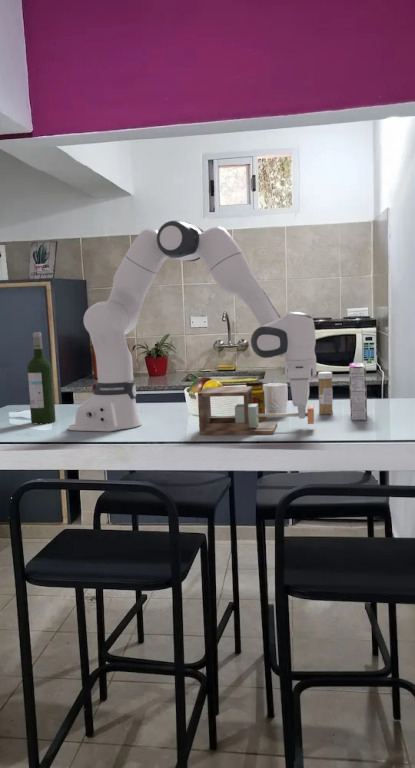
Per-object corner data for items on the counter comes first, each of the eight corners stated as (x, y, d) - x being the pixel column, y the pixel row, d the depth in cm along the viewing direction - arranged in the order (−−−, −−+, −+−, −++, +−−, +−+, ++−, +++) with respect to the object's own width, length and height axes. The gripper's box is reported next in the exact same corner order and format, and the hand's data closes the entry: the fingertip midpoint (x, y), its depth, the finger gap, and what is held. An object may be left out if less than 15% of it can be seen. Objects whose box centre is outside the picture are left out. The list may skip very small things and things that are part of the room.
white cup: (261, 416, 224) (260, 386, 223) (266, 412, 232) (265, 383, 231) (285, 417, 222) (284, 385, 221) (290, 412, 229) (289, 382, 228)
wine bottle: (58, 419, 237) (52, 331, 233) (51, 424, 229) (44, 332, 225) (36, 420, 238) (29, 332, 234) (28, 424, 230) (20, 333, 226)
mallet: (235, 427, 200) (234, 407, 199) (238, 424, 206) (237, 404, 205) (313, 427, 196) (312, 405, 195) (314, 423, 202) (313, 402, 201)
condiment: (249, 422, 216) (247, 383, 215) (239, 418, 224) (238, 381, 223) (271, 420, 218) (269, 381, 217) (261, 416, 226) (259, 379, 225)
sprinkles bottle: (317, 412, 227) (316, 371, 225) (331, 412, 227) (330, 371, 226) (321, 415, 222) (319, 373, 221) (335, 414, 223) (333, 372, 221)
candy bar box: (350, 414, 221) (349, 363, 219) (366, 414, 220) (365, 362, 218) (350, 420, 210) (349, 366, 208) (367, 420, 209) (366, 366, 207)
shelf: (199, 434, 199) (197, 393, 197) (207, 426, 211) (205, 387, 210) (273, 434, 195) (271, 391, 194) (277, 425, 207) (275, 385, 206)
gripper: (291, 365, 208) (293, 411, 210) (286, 373, 188) (288, 423, 190) (313, 365, 207) (314, 411, 209) (310, 372, 187) (312, 423, 189)
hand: (302, 417), depth 199 cm, fingers closed on mallet
